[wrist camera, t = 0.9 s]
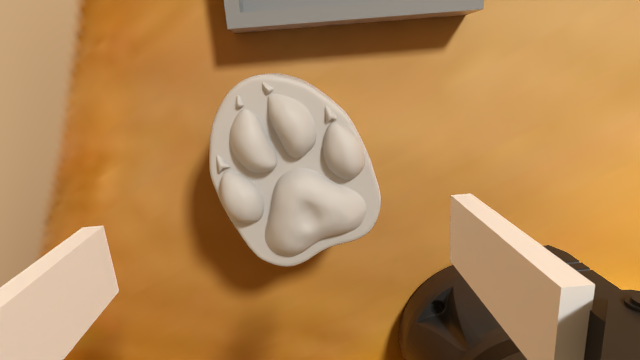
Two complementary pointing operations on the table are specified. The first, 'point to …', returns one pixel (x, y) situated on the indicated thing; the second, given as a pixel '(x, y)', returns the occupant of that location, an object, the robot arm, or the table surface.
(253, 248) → the lumpy-topped squat cylinder
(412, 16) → the charcoal tray
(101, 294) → the robot arm
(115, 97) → the table surface
